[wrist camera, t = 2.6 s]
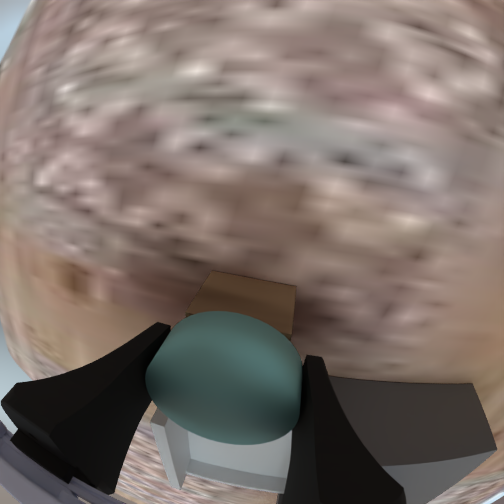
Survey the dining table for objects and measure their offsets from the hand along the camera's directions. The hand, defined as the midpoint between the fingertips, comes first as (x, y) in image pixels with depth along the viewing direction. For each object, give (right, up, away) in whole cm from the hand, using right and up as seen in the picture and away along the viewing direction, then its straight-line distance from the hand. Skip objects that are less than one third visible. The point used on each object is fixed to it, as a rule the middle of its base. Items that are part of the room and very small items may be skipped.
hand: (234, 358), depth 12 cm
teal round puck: (0, 0, -1) cm, 1 cm away
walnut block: (+1, +1, +3) cm, 3 cm away
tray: (0, -9, +6) cm, 11 cm away
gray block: (+10, -10, +6) cm, 15 cm away
